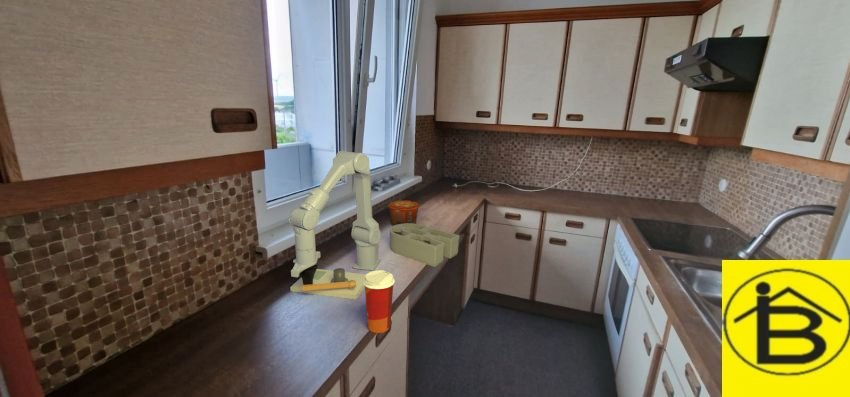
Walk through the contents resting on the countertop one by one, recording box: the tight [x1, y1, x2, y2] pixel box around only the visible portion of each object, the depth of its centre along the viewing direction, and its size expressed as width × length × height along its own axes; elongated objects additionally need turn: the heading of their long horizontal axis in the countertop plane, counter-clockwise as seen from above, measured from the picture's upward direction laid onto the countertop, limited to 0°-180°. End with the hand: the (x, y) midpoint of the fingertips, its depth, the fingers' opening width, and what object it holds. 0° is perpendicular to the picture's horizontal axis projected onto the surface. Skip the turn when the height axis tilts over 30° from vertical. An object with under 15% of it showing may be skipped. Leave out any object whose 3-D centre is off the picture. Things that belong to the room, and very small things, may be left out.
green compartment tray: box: [389, 223, 460, 268], centre depth 146 cm, size 17×28×9 cm, turn 52°
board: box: [289, 268, 367, 300], centre depth 117 cm, size 14×22×2 cm, turn 80°
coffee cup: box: [363, 269, 396, 334], centre depth 94 cm, size 8×8×15 cm
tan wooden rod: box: [302, 280, 356, 291], centre depth 110 cm, size 2×16×1 cm, turn 103°
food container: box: [387, 199, 420, 226], centre depth 181 cm, size 16×16×11 cm
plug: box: [331, 267, 348, 283], centre depth 115 cm, size 6×6×6 cm
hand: (308, 287), depth 110 cm, fingers closed, pressing on tan wooden rod
